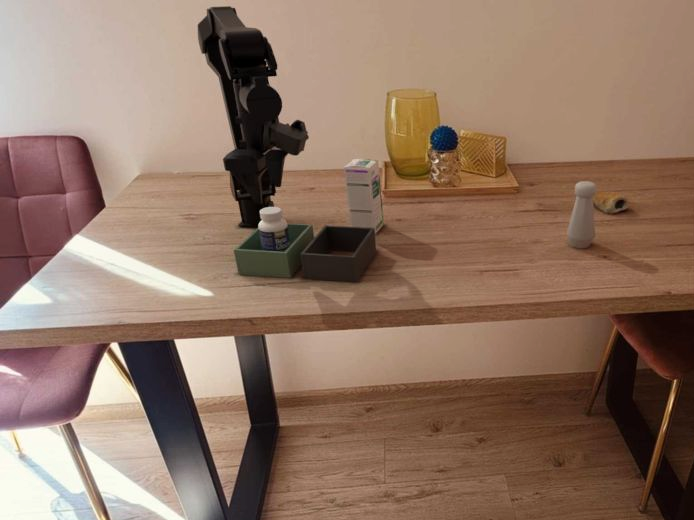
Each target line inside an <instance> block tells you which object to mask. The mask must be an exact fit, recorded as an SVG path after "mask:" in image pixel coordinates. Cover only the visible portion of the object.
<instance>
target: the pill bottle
mask: <svg viewBox="0 0 694 520" xmlns="http://www.w3.org/2000/svg"><path fill="white" fill-rule="evenodd" d="M260 217H261V219H262V220H261V221H260V222H259V225H258V227H259V234H260V239H261V245H262V250H263V251H279V252H285V251H286V250H287V249H288V248H289V246H290V239H289V232H288V225H287V223H288V222H287V220H286V219H284V218H283V211H282V208H280V207H277V206H274V207H266V208H263V209H261V210H260Z"/></svg>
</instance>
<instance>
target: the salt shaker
mask: <svg viewBox="0 0 694 520" xmlns="http://www.w3.org/2000/svg"><path fill="white" fill-rule="evenodd" d="M596 192H598V188H597V184H595V183H594V182H592V181H587V180H584V181H583V180H581V181H578V182H577V183H576V184H575V186H574V195H576V198H575V202H574V205H573V209H572V212H571V216H570V220H569V223H568V227H567V230H566V235H567V239H568V241H569V244H570V246H571V247H573V248H577V249H586V248H589V247H590V245H591V244H592V242H593V241H594V239H595V238H596V225H595V209H594V202H593V196H595V195H596Z"/></svg>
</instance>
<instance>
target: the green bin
mask: <svg viewBox="0 0 694 520" xmlns="http://www.w3.org/2000/svg"><path fill="white" fill-rule="evenodd" d="M287 225H288V232H289V239H290V246H289V248H288V249H287V250H286V251H285V252H279V251H263V250H262V245H261V239H260V234H259V227H258V228H257V227H256V228H255V229H254V230H253V231H252V233H250V234H249V235H248V236H247V237H246V238H245V239H244V240H242V242H240V243H239V244H238V245H237V246H236V247H235V248H234V249H233V254H234V259H235V264H236V269H237V273H238V275H241V276H242V275H243V276H255V277H256V276H260V277H272V278H273V277H274V278H288V279H291V278H292V276H293V275H295V273H296V272H297V270H299V268H300V267H301V266H302V263H301V256H300V254H301V253H302V251H303V250H304V249H305V248H306V247H307V246H308V245H309V243H310V242H311V241H312V240H313V239H314V238H315V234H314V227H313V224H311V223H291V222H287Z"/></svg>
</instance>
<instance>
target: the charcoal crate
mask: <svg viewBox="0 0 694 520" xmlns="http://www.w3.org/2000/svg"><path fill="white" fill-rule="evenodd" d="M330 250H334V251H348V252H354V253H352V255H343V254H328V252H329V251H330ZM376 253H377V243H376V234H375V229H374V228H364V227H351V226H347V225H329V224H328V225H324V226H323V227H322V228H321V229H320V230H319V232H318V233H317V234H316V235H314V239H313V240H312V241H311V242H310V243H309V245H308V246H307V247H306V248H305V249H304V250H303V251H302V253H301V254H300V256H301V263H302V264H301V269H302V276H303V279H305V280H317V281H334V282H349V283H357V282H358V281H359V279H360V278H361V276H362V275H363V273H364V272H365V270H366V269H367V267H368V265H369V263H370V262H371V260H372V259H373V257H374V256H375V255H376Z"/></svg>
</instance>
